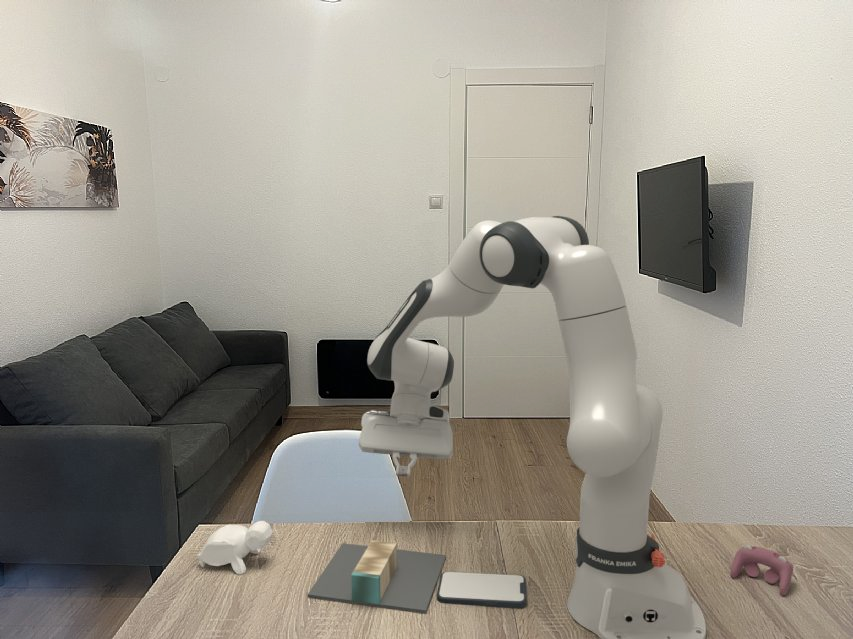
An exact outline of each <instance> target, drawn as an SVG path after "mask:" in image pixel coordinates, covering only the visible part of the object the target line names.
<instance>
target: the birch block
mask: <svg viewBox="0 0 853 639" xmlns="http://www.w3.org/2000/svg"><path fill="white" fill-rule="evenodd" d="M367 546H368V548H367V549H366V551H365V553H364V554H363V556H362V558H361V559H360V561H359V563H358V564H357V566H356V568H355V569H354V571H353V573H352V574H351V585H352V601H359V602H366V603H374V604H379V603H380V601H381V599H382V597H383V595H384V593H385V591H386V589H387V587H388V584H389V582H390V580H391V578H392V576H393V574H394V572H395V570H396V568H397V548H398V543H397V542H390V541H382V540H373V539H372V540H371V541H370V542H369V545H367Z"/></svg>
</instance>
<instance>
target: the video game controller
mask: <svg viewBox="0 0 853 639" xmlns="http://www.w3.org/2000/svg"><path fill="white" fill-rule="evenodd" d="M759 565H763V566H766V567H768V568H769V569H767V570H765V572H764V574H763V578H764V580H765V581H766V582H768V583H769V584H773V585H774V584H777V583H778V582H779V584H778V588H779V589H778V590H779V595H781V596H785V595H786V594H787V592H788V591H789V588H790V584H791V582H792V576H793V573H794V567H793V565H792V563H791V562H790V561H789V560H788V559H786V558H785V557H783V556H782V555H781V554H779V553H778V552H775V551H773V550H771V549H768V548H764V547H759V546H751V545H746V546H743V547H742V546H741V548H739V549H738V550H737V551H736V553H735V555H734V557H733V559H732V563H731V567H730V577H731V579H732V578H733V579H735V578H737V577H738V576H739V575H740V573H741V571H742V570H743V567H744V568H745V571H746V574H747V575H748V576H750V577H753V578H756V577H759V576H760V574H761V569H760V566H759Z"/></svg>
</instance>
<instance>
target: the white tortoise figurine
mask: <svg viewBox="0 0 853 639" xmlns="http://www.w3.org/2000/svg"><path fill="white" fill-rule="evenodd" d="M273 536H274V531H273V529H272V527H271V525H270V524H269V523H268V522H266V520H258V521H257V522H254V523H253V524H251V525H250V526H249V527H246V526H244V525H240V524H236V525H235V524H226V525H224V526H222V527H219V528H218V529H216V530H215V531H214V532H212V533H211V535H210V536H209V537H208V539H207V540H206V542H205V544H204V546H203V547H202V549H201V551H200V552H199V553H198V554H197V555H196V558H197V559H198V560H199V561H198V562H199V565H200V567H201V568H205V566H206V565H205V564H207V565H209V566H214V567H220V566H224V565H228V564H230V565H231V567H232V569H233V571H234V572H235V573H236V575H238V576H240V575H244V574H245V573H246V570H247V567H246V564H245V561H244V560H243V559H244V558H245V557H246V556H247V555H248V554H249V553H252V554H253V555H257V554H259V555H260V553H261V551H262V549H263V548H265V547H266V546H267V545H269V544H268V543H269V542H271V540H272V538H273Z"/></svg>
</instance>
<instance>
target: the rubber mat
mask: <svg viewBox="0 0 853 639" xmlns="http://www.w3.org/2000/svg"><path fill="white" fill-rule="evenodd" d="M368 546H369V545H365V544H364V545H363V544H355V543H347V542H342V543H341V544H340V546H339V548H338V549H337V550H336V551H335V553H334V555H333V556H332V557H331V560H330V561H329V562H328V563H327V565H326V567H324V570H323V571H322V572H321V574H320V576H319V577H318V578H317V580H316V581H315V582H314V584H313V586H312V587H311V589H310V590H309V592H308V593H307V598H310V599H316V600H317V599H318V600H323V599H324V600H325V601H331V600H332V602H338V601H340V602H339V603H345V602H349V603H348V604H352V603H354V605H362V606H368V607H376V608H382V609H383V608H384V609H391V610H396V609H398V611H404V612H412V613H419V614H427V612H428V609H429V606H430V603H431V601H432V597H433V594H434V593H435V589H436V587H437V584H438V581H439V580H440V576H441V574H442V570H443V568H444V565H445V561H446V559H447V555H446V554H440V553H431V552H424V551H422V552H421V551H415V550H405V549H397V568H396V570H395V572H394V574H393V576H392V578H391V580H390V582H389V584H388V587H387V589H386V591H385V593H384V595H383V597H382V599H381V601H380V603H379V604H374V603H366V602H359V601H352V585H351V574H352V573H353V571H354V569H355V568H356V566H357V564H358V563H359V561H360V559H361V558H362V556H363V554H364V553H365V551H366V549H367V548H368Z"/></svg>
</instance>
